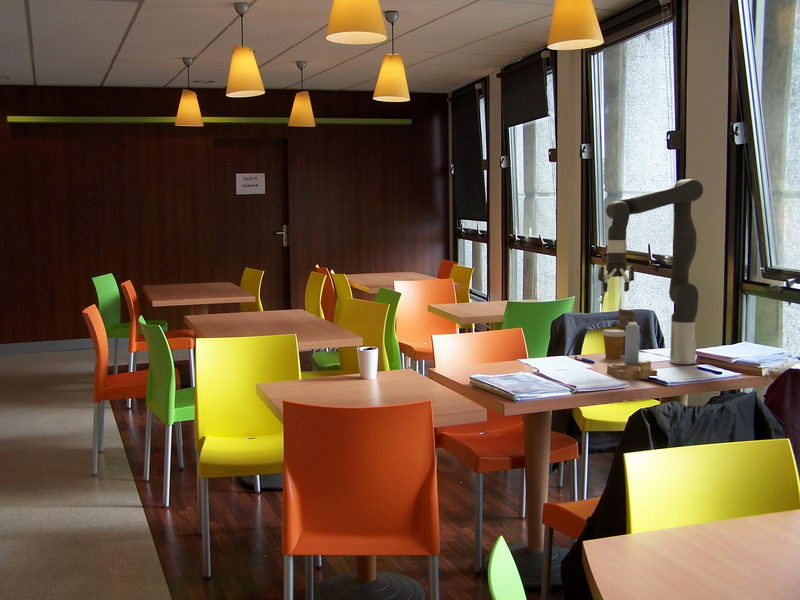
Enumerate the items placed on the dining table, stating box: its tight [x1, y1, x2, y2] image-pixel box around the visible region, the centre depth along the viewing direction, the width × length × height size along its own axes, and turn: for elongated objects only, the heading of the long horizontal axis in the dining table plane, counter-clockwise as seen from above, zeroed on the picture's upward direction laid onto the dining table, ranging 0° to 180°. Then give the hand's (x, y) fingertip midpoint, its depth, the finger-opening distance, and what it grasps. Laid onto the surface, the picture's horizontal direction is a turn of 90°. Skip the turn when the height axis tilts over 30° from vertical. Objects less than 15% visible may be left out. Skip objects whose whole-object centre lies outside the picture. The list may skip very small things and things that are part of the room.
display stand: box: [606, 360, 658, 381], centre depth 316 cm, size 15×15×6 cm
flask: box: [624, 322, 640, 366], centre depth 315 cm, size 5×5×17 cm
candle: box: [618, 308, 637, 355], centre depth 366 cm, size 8×7×20 cm
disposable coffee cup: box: [602, 328, 625, 360], centre depth 355 cm, size 10×10×12 cm
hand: (615, 291), depth 336 cm, fingers open, 8 cm apart
